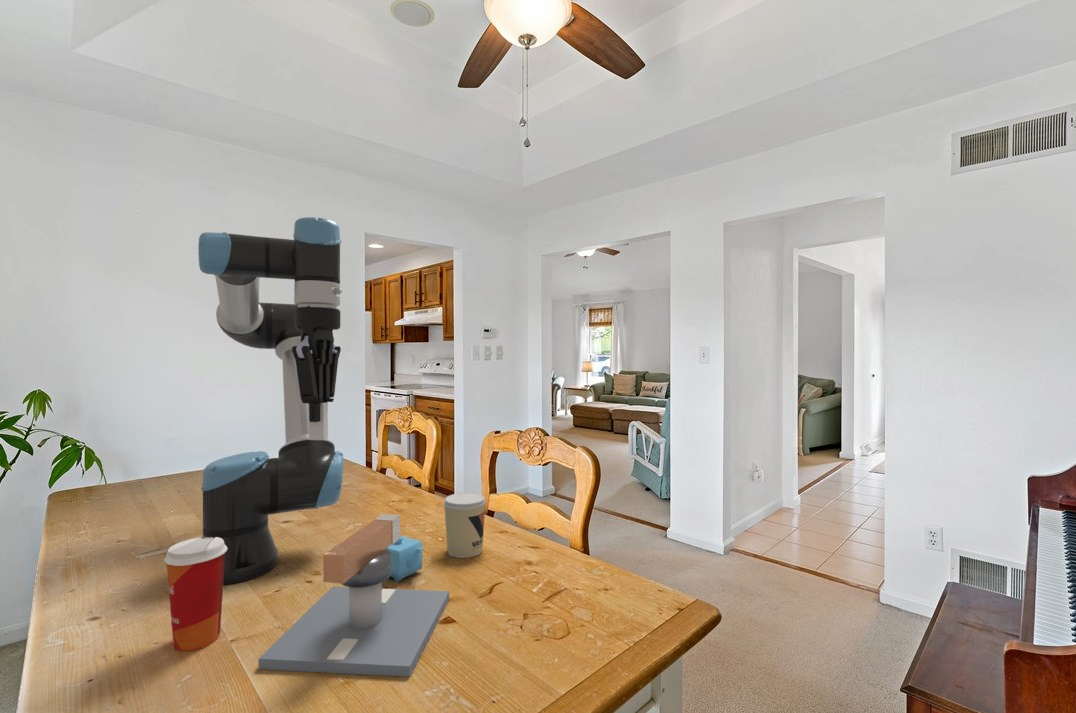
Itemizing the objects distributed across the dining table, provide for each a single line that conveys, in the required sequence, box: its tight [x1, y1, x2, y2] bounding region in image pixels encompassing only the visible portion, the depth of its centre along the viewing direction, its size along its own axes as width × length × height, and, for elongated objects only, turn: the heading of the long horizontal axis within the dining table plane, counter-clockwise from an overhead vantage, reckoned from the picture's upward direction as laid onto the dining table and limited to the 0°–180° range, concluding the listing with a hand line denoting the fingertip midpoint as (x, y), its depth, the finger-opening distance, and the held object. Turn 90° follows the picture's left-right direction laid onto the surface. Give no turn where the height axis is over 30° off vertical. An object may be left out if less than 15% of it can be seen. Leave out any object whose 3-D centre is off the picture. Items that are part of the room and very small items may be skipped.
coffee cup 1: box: [163, 537, 227, 652], centre depth 79 cm, size 8×8×15 cm
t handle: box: [322, 513, 401, 588], centre depth 82 cm, size 18×8×7 cm, turn 170°
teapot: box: [385, 535, 424, 582], centre depth 102 cm, size 12×6×8 cm, turn 58°
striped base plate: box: [258, 582, 450, 678], centre depth 82 cm, size 22×22×8 cm
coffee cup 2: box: [443, 492, 487, 559], centre depth 115 cm, size 9×9×12 cm
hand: (318, 439), depth 91 cm, fingers closed
